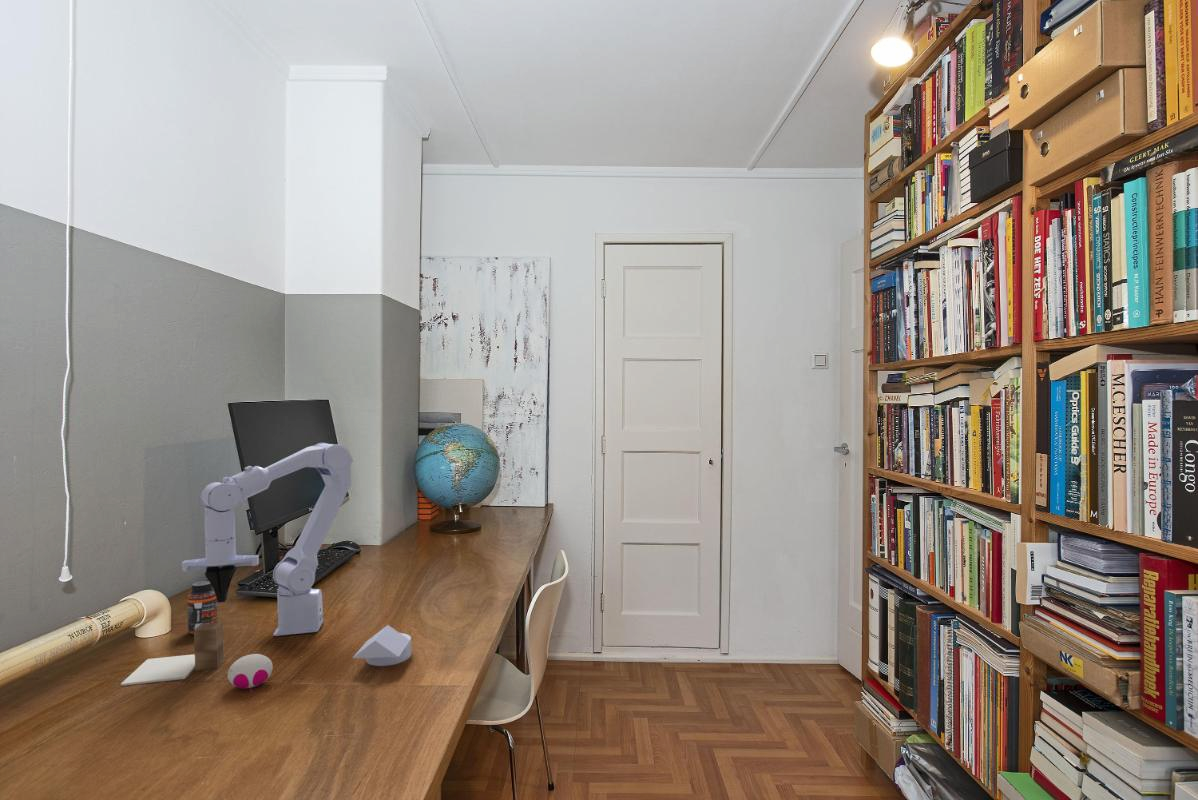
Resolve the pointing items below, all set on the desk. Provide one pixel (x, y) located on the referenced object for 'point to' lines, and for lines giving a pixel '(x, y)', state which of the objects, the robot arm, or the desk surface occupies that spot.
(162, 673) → the felt mat
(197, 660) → the walnut block
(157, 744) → the desk surface
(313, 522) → the robot arm
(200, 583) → the supplement bottle
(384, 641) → the wedge on round base
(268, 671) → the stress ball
